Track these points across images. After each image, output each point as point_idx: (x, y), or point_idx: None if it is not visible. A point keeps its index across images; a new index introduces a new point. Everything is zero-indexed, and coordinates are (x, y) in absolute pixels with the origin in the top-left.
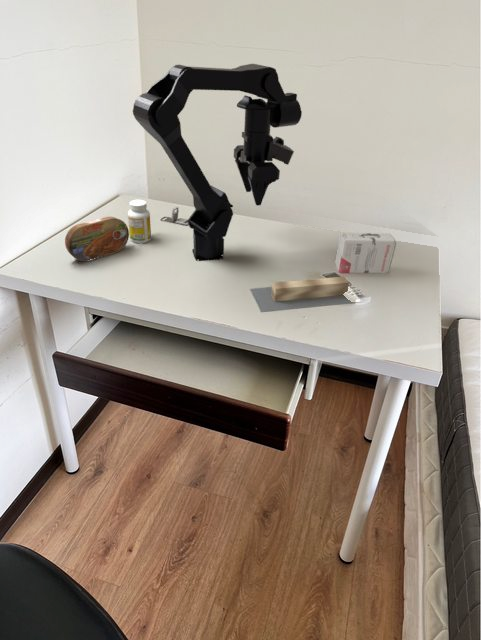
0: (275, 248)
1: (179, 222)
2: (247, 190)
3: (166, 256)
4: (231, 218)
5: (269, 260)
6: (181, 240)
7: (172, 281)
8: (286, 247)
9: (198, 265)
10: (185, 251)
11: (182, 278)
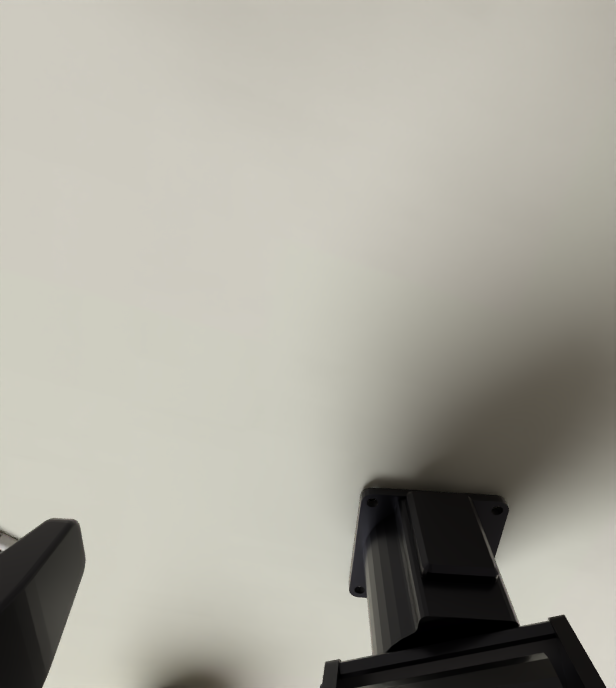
0: (455, 139)
1: None
2: (78, 576)
3: None
4: (559, 682)
5: (608, 252)
6: (219, 601)
7: None
8: (469, 33)
9: None
10: (342, 606)
11: None
